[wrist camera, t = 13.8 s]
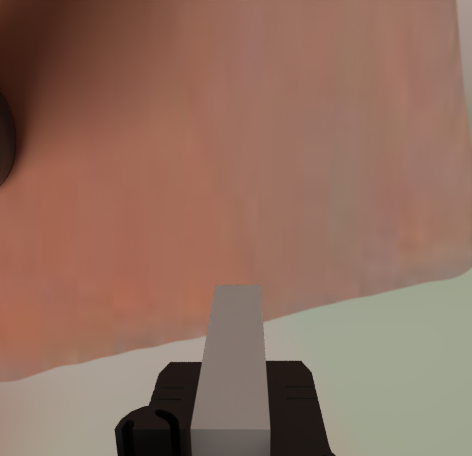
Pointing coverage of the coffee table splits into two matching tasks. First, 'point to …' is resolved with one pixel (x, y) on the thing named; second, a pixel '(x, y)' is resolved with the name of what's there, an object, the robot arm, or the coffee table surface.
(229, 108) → the coffee table surface
